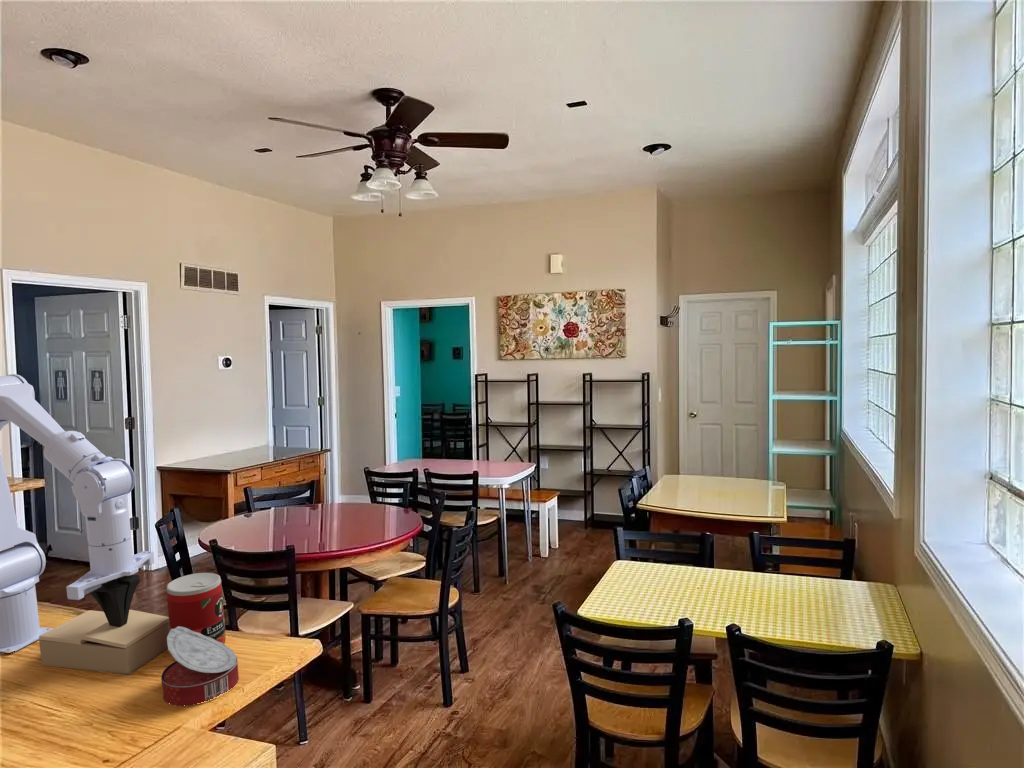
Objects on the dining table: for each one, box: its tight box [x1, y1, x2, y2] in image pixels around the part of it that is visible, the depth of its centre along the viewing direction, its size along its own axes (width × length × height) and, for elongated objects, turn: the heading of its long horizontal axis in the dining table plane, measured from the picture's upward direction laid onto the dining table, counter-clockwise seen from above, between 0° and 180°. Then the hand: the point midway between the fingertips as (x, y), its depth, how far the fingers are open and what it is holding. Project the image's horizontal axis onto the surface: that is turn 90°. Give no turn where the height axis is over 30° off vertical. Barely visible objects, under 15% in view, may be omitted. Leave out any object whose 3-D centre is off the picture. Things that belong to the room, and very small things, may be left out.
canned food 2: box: [160, 626, 240, 707], centre depth 95 cm, size 11×10×10 cm
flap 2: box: [82, 609, 169, 649], centre depth 103 cm, size 8×9×1 cm
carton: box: [38, 622, 170, 676], centre depth 104 cm, size 16×9×4 cm, turn 76°
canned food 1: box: [165, 572, 227, 645], centre depth 105 cm, size 8×8×11 cm
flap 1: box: [38, 609, 108, 645], centre depth 105 cm, size 8×9×1 cm
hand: (118, 624), depth 103 cm, fingers closed, pressing on flap 2
